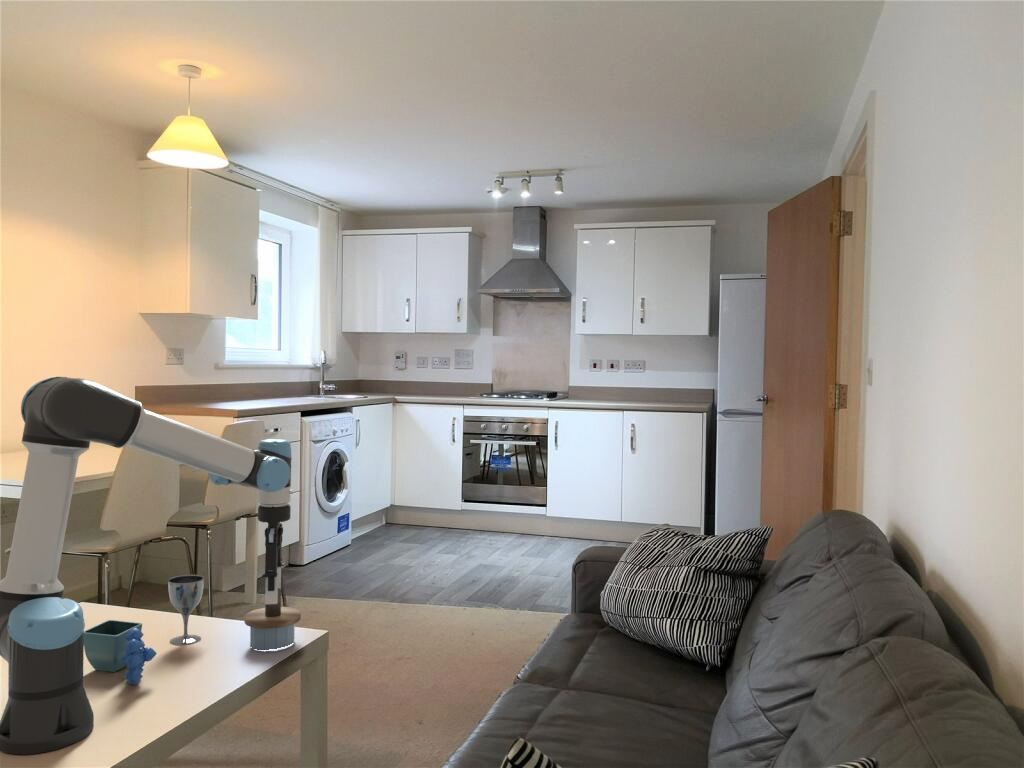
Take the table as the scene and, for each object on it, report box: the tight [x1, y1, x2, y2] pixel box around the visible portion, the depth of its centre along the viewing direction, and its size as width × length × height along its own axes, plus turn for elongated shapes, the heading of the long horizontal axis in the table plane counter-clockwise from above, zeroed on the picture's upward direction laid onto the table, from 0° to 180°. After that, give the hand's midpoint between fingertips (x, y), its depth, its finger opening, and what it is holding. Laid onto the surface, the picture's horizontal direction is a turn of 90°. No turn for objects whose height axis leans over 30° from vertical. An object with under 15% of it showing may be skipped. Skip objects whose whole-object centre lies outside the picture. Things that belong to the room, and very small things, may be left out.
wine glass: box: [167, 574, 205, 646], centre depth 192 cm, size 8×8×15 cm
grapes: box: [121, 628, 157, 686], centre depth 166 cm, size 12×7×12 cm, turn 22°
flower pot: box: [84, 619, 143, 673], centre depth 174 cm, size 9×9×9 cm
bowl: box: [249, 623, 296, 650], centre depth 190 cm, size 10×10×6 cm
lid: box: [244, 588, 302, 629], centre depth 190 cm, size 13×13×7 cm
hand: (273, 598), depth 190 cm, fingers open, 7 cm apart
